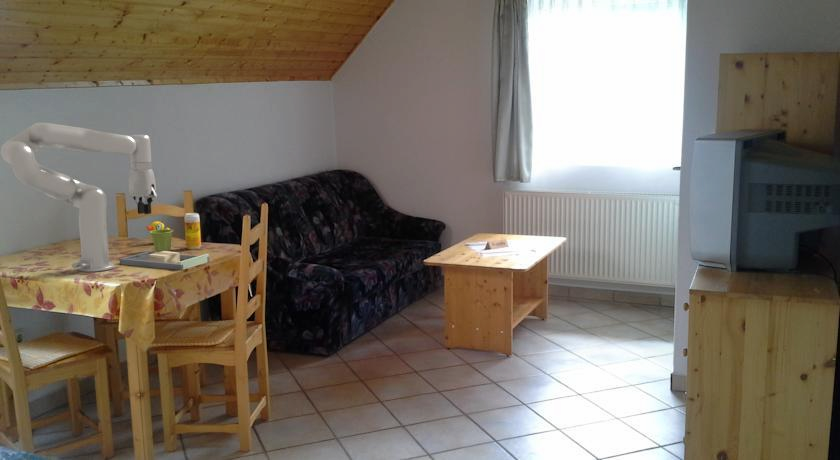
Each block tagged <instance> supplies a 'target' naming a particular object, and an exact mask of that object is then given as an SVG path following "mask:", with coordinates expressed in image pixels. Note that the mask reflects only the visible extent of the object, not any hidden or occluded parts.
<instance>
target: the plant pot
mask: <svg viewBox="0 0 840 460" xmlns="http://www.w3.org/2000/svg"><path fill="white" fill-rule="evenodd" d="M173 233H174V229H170V228H169V229H165V228H164V229H161V230H153V231H149V234H150V237H151V236H152V238H153V241H152V242H153V246H154V247H153V248H154V252H162V251H170V252H171V249H172V248H171V247H172V236H173Z"/></svg>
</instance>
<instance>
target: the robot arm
mask: <svg viewBox="0 0 840 460" xmlns="http://www.w3.org/2000/svg"><path fill="white" fill-rule="evenodd" d="M43 147H46V148H53V149H54V148H55V149H64V150H69V151H76V152H77V151H79V152H85V153H90V152H92V153H103V154H112V155H117V156H118V155H119V156H130V164H129V167H131V169H130V170H129V173H128V193H129V197H131V198H132V199H133V200H134V201H135V204H136V205H137V214H138V215H142V214H144V215H149V214H152V204H153V201H154V200H155V199H157V198H158V195H157V183H156V178H155V173H154V170H153V166H152V164H153V163H152V152H151V151H152V150H151V148H152V147H151V138H150V136H149V134H148V135H147V134H133V135H126V134H119V133H112V132H105V131H99V130H95V129H91V128H87V127H86V128H85V127H77V126H71V125H63V124H58V123H51V122H36V123H34V124H31V125H30V126H29V127H27V128H26V129H24V130H22V131H21V132H20V133H18V134H16V135H14V136H13V137H11V138H10V139H8V140H7V141H5V142H4V143H3V145H2V146H1V148H0V157H1V158H2V159H3V161H5V162H6V163H8V164H9V165H10V167H11V170H12V172H13V174H14V176H15V177H16V178H17V180H18V181H20V182H21V183H22V184H23V185H26V186H28V187H30V188H33V189H35V190H37V191H39V192H42V193H44V194H45V195H46V196H48V197H49V198H52V199H55V200H57V201H60V202H62V203H64V204H67V205H71V206H73V207H75V208H77V209H79V212H78V229H79V238H80V240H79V241H80V249H81V258H79V260H78V261H77V262H74V263H73V262H72V264H71V267H72V268H73V269H78V271H79V272H85V273H87V272H89V273H93V272H103V271H108V270H111V269H114V268H115V264H114V262H110V251H109V238H108V227H107V224H108V223H107V207H108V206H107V205H108V202H107V199H108V198H107V195H106V193H105V192H104V191H103V190H102V188H100V187H98V186H96V185H92V184H87V183H84V182H82V181H79V180H77V179H74V178H72V177H71V176H69V175H67V174H65V173H62V172H58V171H55V170H53V169H50V168H48V167H46V166H44V165H41V164H40V163H39V162H37V160H36V157H35V153H36V152H37V151H39V150H41V149H42V148H43Z"/></svg>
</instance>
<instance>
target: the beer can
mask: <svg viewBox="0 0 840 460" xmlns="http://www.w3.org/2000/svg"><path fill="white" fill-rule="evenodd" d="M200 220H201V219H200V214H199V213H197V212H189V213H185V215H184V230H185V246H186V248H187V250H199V249H200V248H201V247H202V238H201V237H202V236H201V221H200Z"/></svg>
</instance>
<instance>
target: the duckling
mask: <svg viewBox="0 0 840 460" xmlns="http://www.w3.org/2000/svg"><path fill="white" fill-rule="evenodd" d="M146 229H147V231H149V232H150V231H153V230H161V229H170V228H169V227H165V224H164V223H162V222H161V221H153V222H151V225H148V224H147V225H146ZM150 239H151V241H152V242H153V238H152V236H151V235H150Z"/></svg>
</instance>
